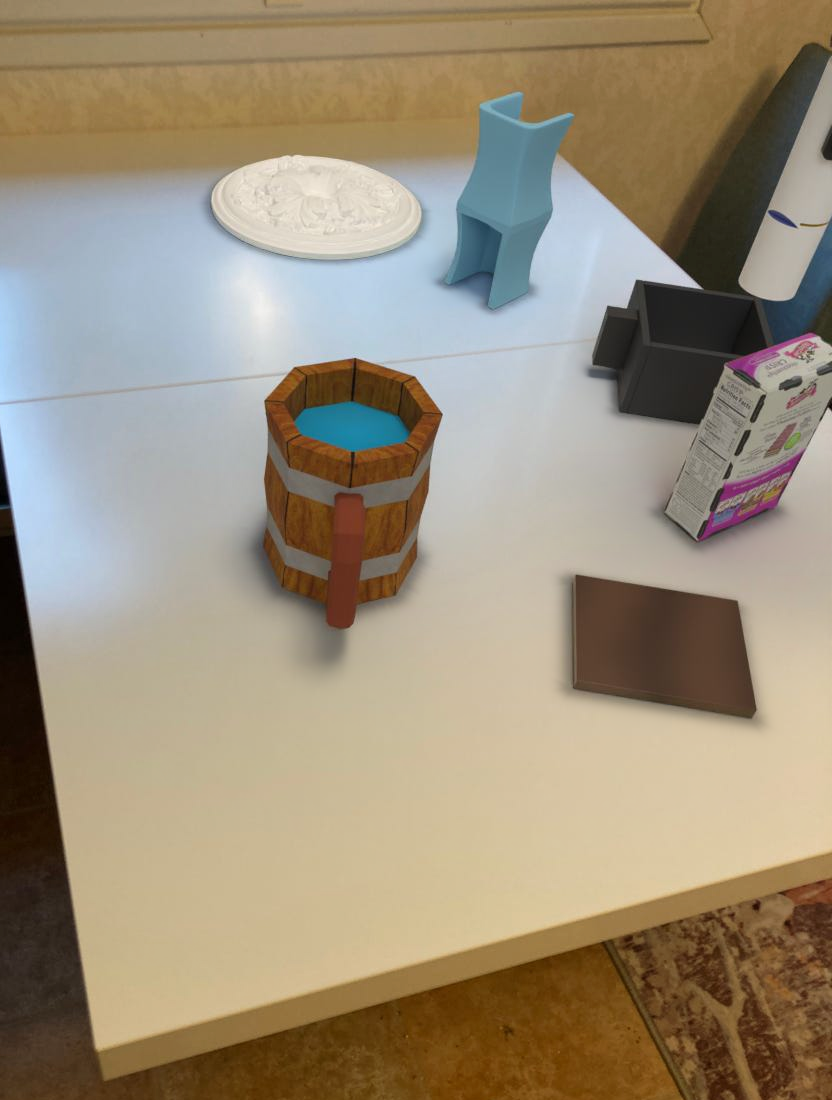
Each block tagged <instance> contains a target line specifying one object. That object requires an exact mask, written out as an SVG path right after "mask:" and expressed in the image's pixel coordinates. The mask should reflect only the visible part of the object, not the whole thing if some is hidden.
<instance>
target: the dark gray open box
mask: <svg viewBox="0 0 832 1100" xmlns="http://www.w3.org/2000/svg"><path fill="white" fill-rule="evenodd" d="M626 306H627V307H619V306H614V305H613V306H612V305H606V309H605V312H604V315H603V318H602V322H601V325H600V328H599V331H598V334H597V338H596V341H595V343H594V347H593V348H594V349H593V351H592V354H591V365H592V366H595V367H596V366H597V367H603V368H609V369H616V375H617V376H616V377H617V392H618V408H619V412H621V413H626V414H632V415H639V416H645V417H652V418H657V419H664V420H671V421H679V422H684V423H690V424H691V423H692V424H697V425H700V423H701V420H702V418H703V415H704V413H705V411H706V408H707V406H708V403H709V401H710V399H711V396H712V394H713V392H714V389H715V387H716V384H717V382H718V379H719V377H720V375H721V372H722V370H723V367H724V364H725V363H728V362H730V361H733V360H736V359H739V358H742V357H745V356H747V355H750V354H753V353H756V352H758V351H761V350H764V349H767V348H770V347H772V346H775V343H774V341H773V337H772V334H771V329H770V326H769V322H768V318H767V316H766V312H765V308H764V305H763V302H762V298H760V297H757V296H751V295H744V294H738V293H731V292H730V293H729V292H724V291H717V290H710V289H703V288H697V287H689V286H684V285H677V284H671V283H670V284H669V283H663V282H657V281H650V280H643V279H638V278H637V279H635V282H634V285H633V288H632V290H631V293H630V297H629V299H628V303H627V305H626Z"/></svg>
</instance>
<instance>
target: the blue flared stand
mask: <svg viewBox="0 0 832 1100" xmlns="http://www.w3.org/2000/svg"><path fill="white" fill-rule="evenodd" d="M523 101H524V93H523V92H521V91H515V92H512V93H509V94H506V95H503V96H499V97H496V98H494V99H493V98H492V99H490V100H487V101H484V102H481V103H480V104H479V106H478V118H479V121H478V122H479V123H478V125H479V126H478V127H479V128H478V129H479V130H478V132H479V133H478V146H477V152H476V158H475V161H474V165H473V168H472V171H471V173H470V176H469V178H468V180H467V182H466V184H465V186H464V188H463V190H462V191H461V194H460V195H459V197H458V199H457V202H456V208H455V211H456V212H455V213H456V225H457V227H456V228H457V229H456V230H457V233H456V234H457V237H456V239H457V240H456V247H455V253H454V256H453V260H452V263H451V266H450V269H449V271H448V273H447V275H446V277H445V279H444V284H446V285H448V286H450V285H453V284H455V283H457V282H459V281H461V280H463V279H465V278H467V277H470V276H472V275H474V274H476V273H479V272H482V273H483V272H485V273H491V274H493V276H492V277H493V278H492V282H491V288H490V293H489V297H488V303H487V307H488V308H489V309H491V310H496V309H497V308H500V307H501V306H503V305H505V304H507V303H509V302H511V301H513V300H515V299H517V298H520V297H521V296H524V295H526V294H527V293H528V292H529V290H530V275H531V268H532V264H533V263H532V262H533V259H534V254H535V252H536V249H537V246H538V244H539V242H540V240H541V237H542V236H543V233H544V232H545V230H546V228H547V226H548V225H549V222H550V220H551V218H552V216H553V211H554V206H553V198H552V197H553V196H552V173H553V167H554V163H555V160H556V157H557V154H558V152H559V150H560V147H561V144H562V141H563V139H564V138H565V136H566V134H567V132H568V130H569V128H570V126H571V124H572V123H573V120H574V119H575V115H576V114H575V113H571V112H566V113H564V114H560V115H558V116H555V117H551V118H549V119H546V120H543V121H540V122H536V123H533V122H525V121H522V120H521V121H520V117H521V112H522V107H523Z"/></svg>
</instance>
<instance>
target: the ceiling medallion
mask: <svg viewBox="0 0 832 1100" xmlns="http://www.w3.org/2000/svg"><path fill="white" fill-rule="evenodd" d="M210 198H211V199H210V201H211V202H210V203H211V205H210V206H211V212H212V214H213V216H214V218H215V221H217V223H218V224H219V225H220V226H221V227H222V229H224V230H226V231H227V232H228V233H229V234H230V235H232V236H233V237H235V238H237V239H238V240H241V241H242V242H244V243H247V244H249V245H251V246H253V247H256V248H259V249H262V250H264V251H268V252H271V253H275V254H279V255H283V256H288V257H293V258H299V259H300V258H301V259H306V260H307V259H309V260H320V261H321V260H322V261H341V260H355V259H362V258H368V257H373V256H378V255H381V254H384V253H388V252H391V251H393V250H396V249H397V248H399V247H402V246H403V245H405V244H406V243H407V242H409V241H410V240H412V238H413V237H414V236H415V235H416V234H417V232H418V231H419V229H420V226H421V222H422V208H421V205H420V202H419V201H418V198H417V197H416V196H415V195H414V194H413V193H412V192H411V191H410V190H409V188H407V187H406V186H404V185H403V184H402V183H400V182H399V181H397V179H394V178H393V177H391V176H389V175H387V174H386V173H384V172H381V171H379V170H376V169H374V168H371V167H369V166H366V165H363V164H360V163H357V162H355V161H351V160H350V161H349V160H345V159H339V158H333V157H325V156H317V155H316V156H314V155H301V154H295V155H283V156H281V157H280V156H279V157H274V158H268V159H264V160H260V161H256V162H253V163H249V164H247V165H244V166H242V167H239V168H237V169H236V170H233V171H232V172H230V173H228V174H226V175H225V176H224V177H223V178H221V179H220V180H219V181H218V182H217V184H216V185H215V186H214V188H213V189H212V192H211V197H210Z"/></svg>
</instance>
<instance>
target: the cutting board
mask: <svg viewBox="0 0 832 1100" xmlns="http://www.w3.org/2000/svg"><path fill="white" fill-rule="evenodd" d="M572 639H573V640H572V641H573V643H572V645H573V646H572V647H573V648H572V649H573V653H572V654H573V688H574V689H577V690H582V691H583V690H584V691H590V692H595V693H600V694H607V695H613V696H617V697H618V696H619V697H625V698H631V699H637V700H643V701H649V702H655V703H662V704H665V705H666V704H667V705H673V706H679V707H684V708H691V709H697V710H703V711H709V712H715V713H720V714H726V715H733V716H739V717H745V718H753V717H754V716H755V714H756V713H757V710H758V709H757V704H756V697H755V691H754V686H753V681H752V674H751V668H750V665H749V664H750V663H749V658H748V653H747V646H746V640H745V635H744V629H743V623H742V617H741V611H740V607H739V601H738V600H736V599H730V598H725V597H724V598H723V597H718V596H712V595H705V594H699V593H693V592H687V591H680V590H674V589H668V588H663V587H656V586H651V585H650V586H649V585H643V584H637V583H631V582H625V581H619V580H613V579H607V578H601V577H594V576H588V575H583V574H582V575H581V574H575V575H574V577H573V581H572Z"/></svg>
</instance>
